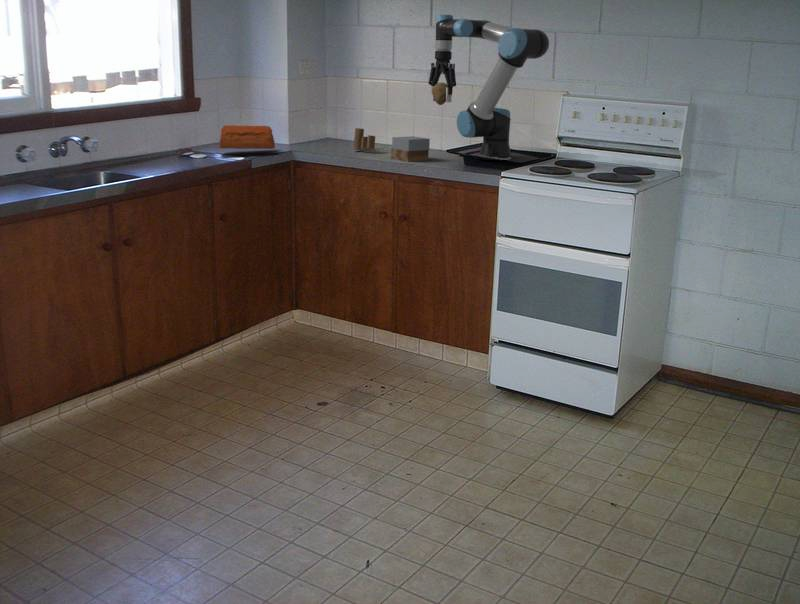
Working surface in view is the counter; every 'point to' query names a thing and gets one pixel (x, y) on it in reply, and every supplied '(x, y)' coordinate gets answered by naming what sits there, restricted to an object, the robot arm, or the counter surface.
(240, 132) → the bread
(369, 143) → the wooden block set
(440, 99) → the natural sponge
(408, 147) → the tower top slab
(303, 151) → the counter surface
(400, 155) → the tower base slab
